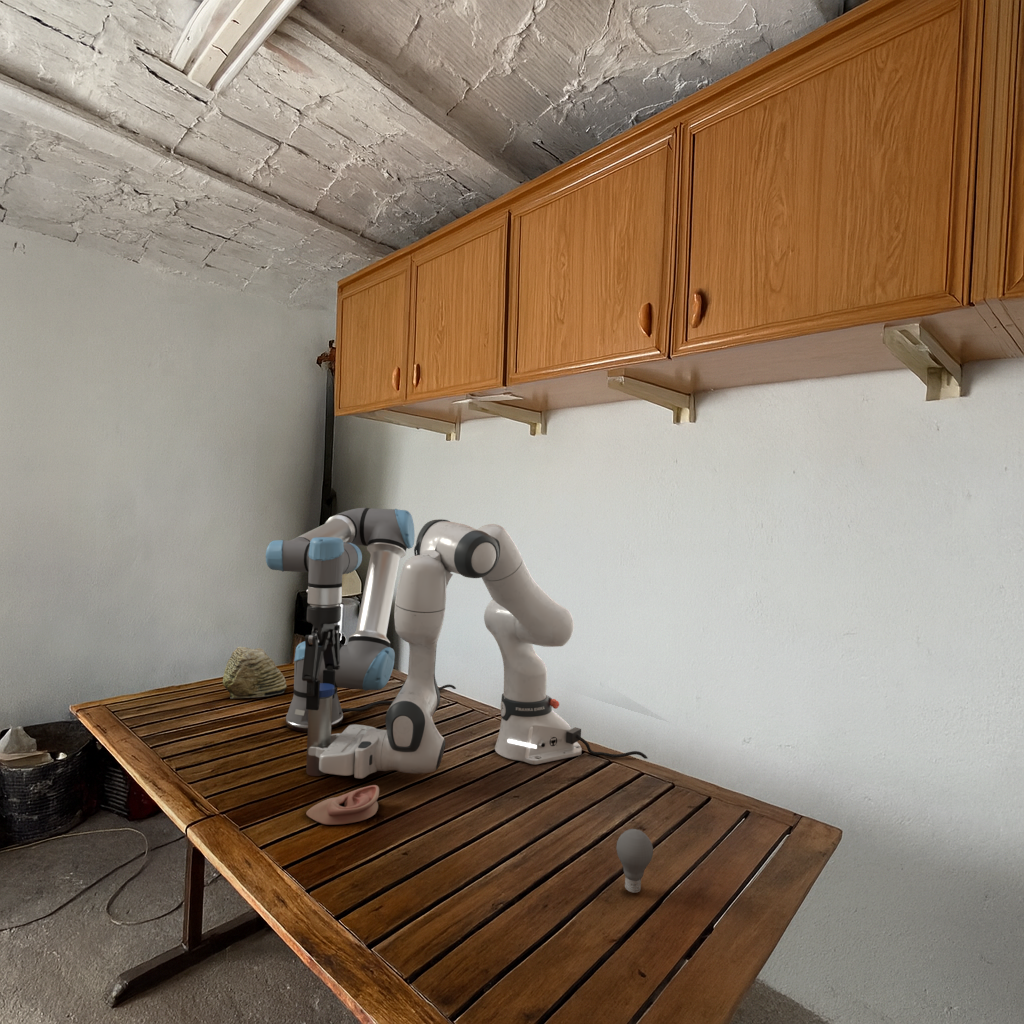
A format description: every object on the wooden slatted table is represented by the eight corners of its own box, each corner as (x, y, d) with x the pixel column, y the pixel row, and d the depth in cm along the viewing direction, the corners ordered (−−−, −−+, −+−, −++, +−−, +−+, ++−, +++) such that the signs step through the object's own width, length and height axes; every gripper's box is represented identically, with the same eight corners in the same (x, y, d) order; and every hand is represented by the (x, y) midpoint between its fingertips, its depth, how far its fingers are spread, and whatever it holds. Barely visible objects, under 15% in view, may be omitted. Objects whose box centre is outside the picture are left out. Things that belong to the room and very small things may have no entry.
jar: (314, 765, 149) (317, 685, 149) (333, 768, 148) (336, 687, 147) (301, 774, 144) (304, 691, 144) (321, 777, 143) (325, 694, 142)
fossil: (218, 695, 195) (220, 647, 195) (278, 685, 208) (279, 640, 207) (228, 703, 189) (230, 653, 188) (289, 692, 201) (290, 645, 201)
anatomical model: (298, 800, 123) (327, 775, 135) (298, 820, 123) (326, 794, 135) (362, 810, 121) (386, 784, 132) (361, 830, 121) (385, 803, 132)
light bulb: (610, 879, 108) (613, 822, 108) (644, 879, 109) (647, 822, 109) (619, 902, 102) (622, 840, 102) (655, 901, 103) (658, 840, 103)
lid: (319, 699, 141) (319, 692, 141) (301, 694, 145) (301, 687, 145) (340, 693, 146) (340, 686, 146) (322, 688, 150) (322, 681, 150)
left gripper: (327, 597, 156) (323, 689, 156) (287, 611, 135) (283, 717, 136) (356, 599, 155) (353, 691, 155) (320, 613, 134) (316, 720, 135)
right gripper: (387, 720, 155) (332, 715, 156) (360, 753, 135) (297, 748, 136) (386, 745, 155) (331, 741, 156) (358, 782, 135) (296, 777, 136)
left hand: (320, 703), depth 146 cm, fingers open, 8 cm apart
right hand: (315, 744), depth 146 cm, fingers closed on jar, 5 cm apart
